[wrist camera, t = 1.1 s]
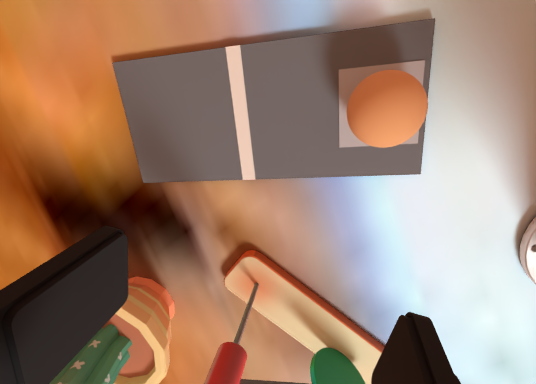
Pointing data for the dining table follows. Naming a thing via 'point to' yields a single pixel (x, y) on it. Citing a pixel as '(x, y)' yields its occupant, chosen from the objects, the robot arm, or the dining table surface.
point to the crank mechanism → (294, 327)
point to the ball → (387, 108)
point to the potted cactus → (128, 341)
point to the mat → (269, 107)
